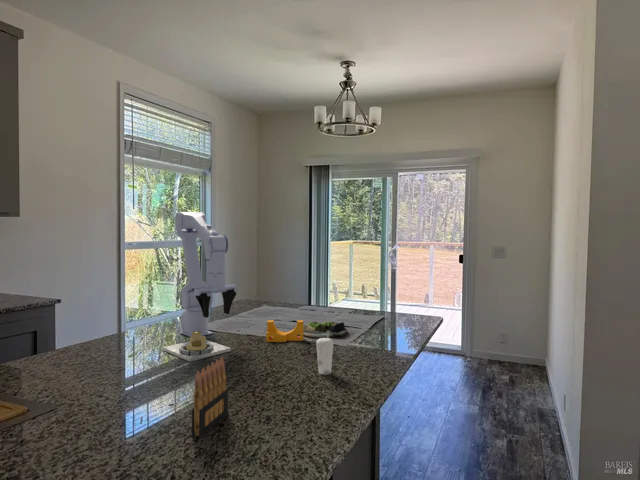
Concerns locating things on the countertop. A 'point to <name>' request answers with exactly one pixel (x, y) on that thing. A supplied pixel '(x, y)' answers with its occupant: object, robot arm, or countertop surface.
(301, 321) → the pipe clamp
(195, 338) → the flanged cylinder knob
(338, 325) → the salad plate
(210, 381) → the ammunition clip
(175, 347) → the carrier
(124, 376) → the countertop surface
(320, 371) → the milkshake
